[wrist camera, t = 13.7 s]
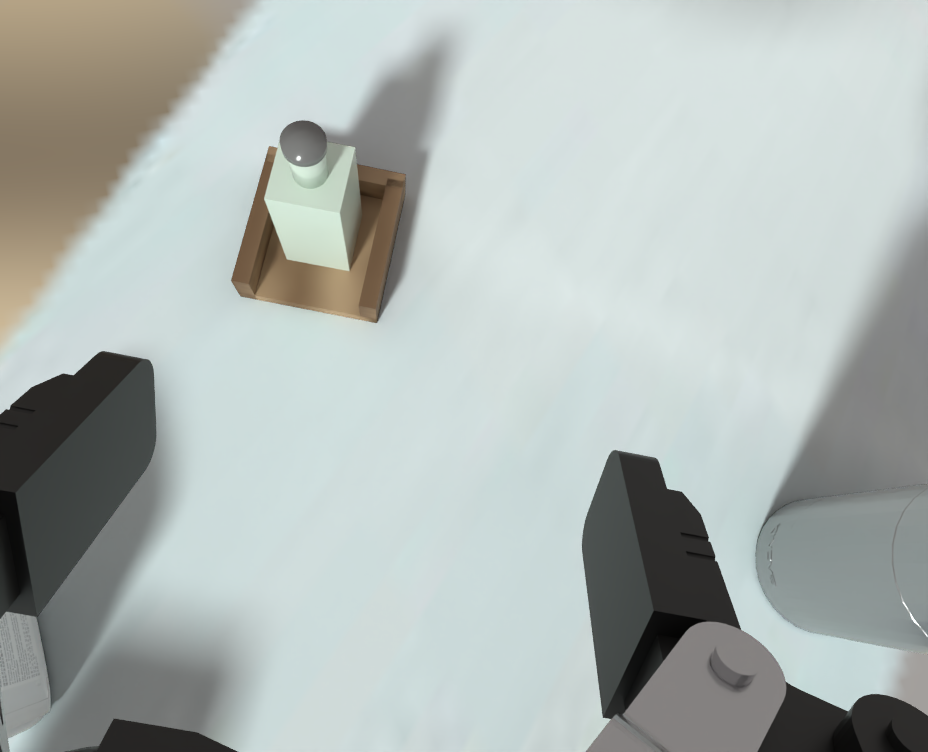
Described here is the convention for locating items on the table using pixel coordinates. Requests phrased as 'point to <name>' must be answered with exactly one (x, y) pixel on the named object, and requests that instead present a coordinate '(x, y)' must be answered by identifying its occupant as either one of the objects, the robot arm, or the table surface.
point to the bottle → (315, 197)
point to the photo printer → (22, 673)
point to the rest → (318, 286)
